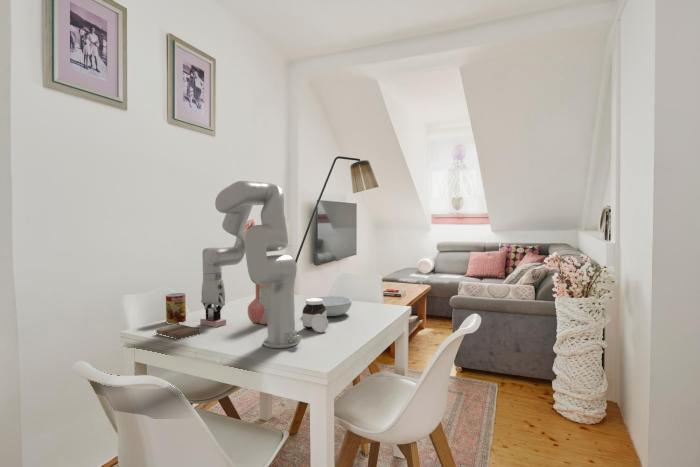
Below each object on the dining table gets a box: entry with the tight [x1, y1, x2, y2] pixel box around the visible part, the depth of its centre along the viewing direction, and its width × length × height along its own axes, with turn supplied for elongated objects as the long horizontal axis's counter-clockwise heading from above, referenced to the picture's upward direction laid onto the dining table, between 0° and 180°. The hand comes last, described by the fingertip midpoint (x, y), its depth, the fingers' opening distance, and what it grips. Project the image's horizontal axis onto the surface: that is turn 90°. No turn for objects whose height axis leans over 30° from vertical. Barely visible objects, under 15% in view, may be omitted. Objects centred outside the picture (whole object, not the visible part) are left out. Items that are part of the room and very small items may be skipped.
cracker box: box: [258, 283, 271, 326], centre depth 169 cm, size 14×6×21 cm, turn 164°
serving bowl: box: [314, 295, 352, 317], centre depth 180 cm, size 21×21×7 cm
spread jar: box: [301, 297, 329, 333], centre depth 155 cm, size 12×11×12 cm
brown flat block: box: [155, 323, 201, 340], centre depth 151 cm, size 14×9×2 cm, turn 58°
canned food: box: [165, 292, 187, 324], centre depth 171 cm, size 8×8×12 cm
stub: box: [199, 306, 227, 328], centre depth 164 cm, size 10×5×7 cm, turn 58°
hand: (213, 318), depth 165 cm, fingers closed on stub, 4 cm apart
